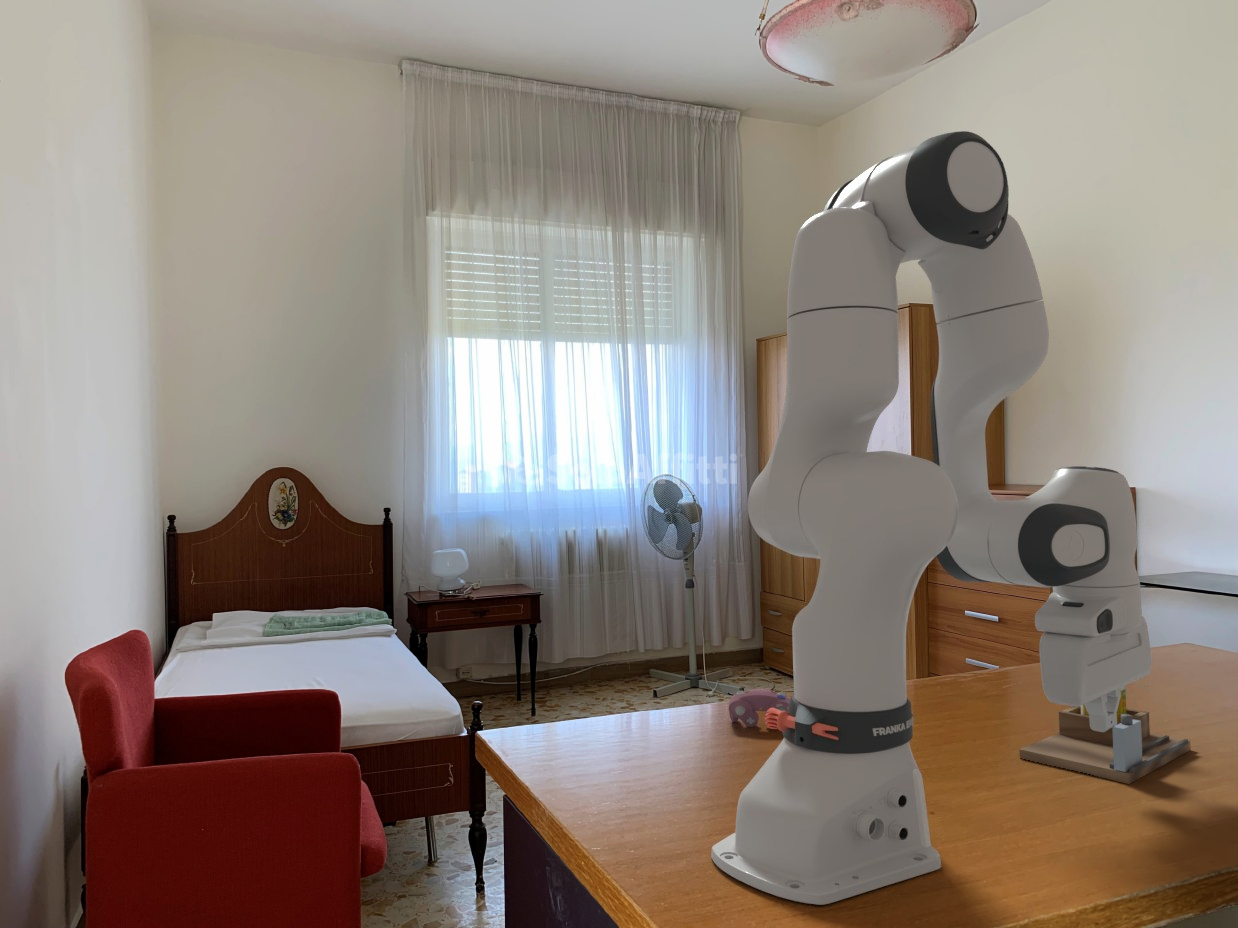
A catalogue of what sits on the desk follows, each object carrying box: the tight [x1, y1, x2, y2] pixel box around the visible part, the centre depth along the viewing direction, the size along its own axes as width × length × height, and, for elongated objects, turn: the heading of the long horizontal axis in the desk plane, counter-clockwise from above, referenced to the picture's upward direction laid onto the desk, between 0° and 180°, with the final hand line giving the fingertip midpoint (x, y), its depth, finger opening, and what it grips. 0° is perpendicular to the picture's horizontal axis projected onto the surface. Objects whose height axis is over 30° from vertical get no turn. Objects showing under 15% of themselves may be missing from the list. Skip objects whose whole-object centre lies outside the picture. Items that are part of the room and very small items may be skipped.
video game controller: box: [728, 688, 791, 728], centre depth 131 cm, size 10×5×7 cm, turn 78°
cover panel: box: [1113, 714, 1142, 772], centre depth 105 cm, size 5×1×6 cm, turn 129°
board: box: [1019, 706, 1192, 785], centre depth 114 cm, size 19×13×4 cm
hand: (1103, 728), depth 101 cm, fingers closed
